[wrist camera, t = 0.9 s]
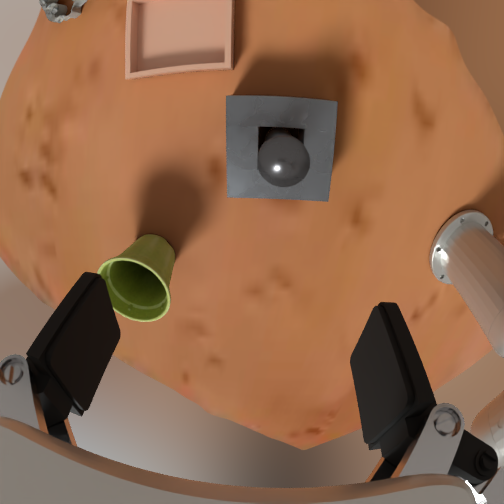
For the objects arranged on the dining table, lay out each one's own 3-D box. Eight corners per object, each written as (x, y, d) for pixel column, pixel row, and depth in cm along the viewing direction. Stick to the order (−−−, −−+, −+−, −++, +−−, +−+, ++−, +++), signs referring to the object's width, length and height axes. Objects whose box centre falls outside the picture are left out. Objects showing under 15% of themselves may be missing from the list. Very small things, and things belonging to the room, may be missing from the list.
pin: (297, 123, 28) (312, 138, 20) (295, 158, 31) (308, 188, 22) (260, 121, 29) (257, 135, 20) (259, 157, 31) (256, 186, 22)
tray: (234, -12, 20) (232, -19, 18) (233, 69, 26) (230, 67, 23) (136, 2, 21) (127, -2, 18) (135, 79, 26) (125, 79, 24)
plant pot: (122, 217, 35) (90, 251, 28) (189, 227, 36) (169, 266, 28) (127, 273, 40) (103, 312, 33) (186, 285, 41) (171, 328, 33)
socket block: (326, 99, 27) (337, 101, 22) (319, 185, 32) (328, 201, 28) (232, 95, 27) (226, 95, 23) (232, 181, 32) (227, 197, 28)
